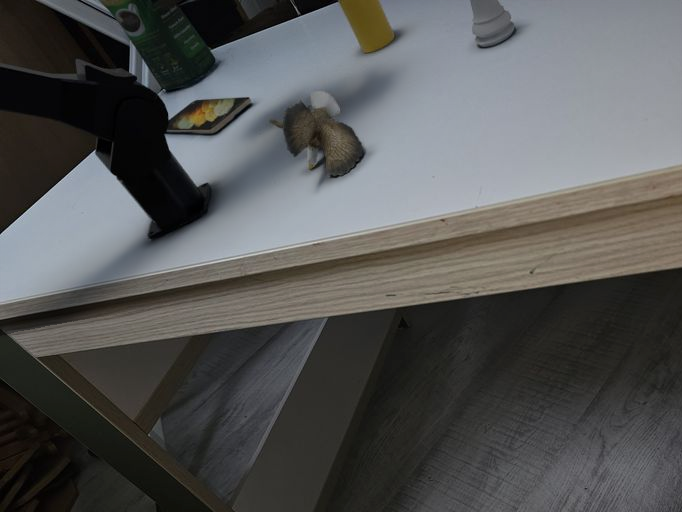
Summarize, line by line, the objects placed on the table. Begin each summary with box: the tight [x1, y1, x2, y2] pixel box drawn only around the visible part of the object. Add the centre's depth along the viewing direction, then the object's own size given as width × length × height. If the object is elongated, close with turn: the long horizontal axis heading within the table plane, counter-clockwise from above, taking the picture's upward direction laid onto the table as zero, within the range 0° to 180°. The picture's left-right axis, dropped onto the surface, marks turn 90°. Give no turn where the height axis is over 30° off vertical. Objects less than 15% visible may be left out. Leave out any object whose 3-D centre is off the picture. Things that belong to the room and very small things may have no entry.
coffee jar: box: [98, 0, 217, 91], centre depth 103 cm, size 10×8×19 cm
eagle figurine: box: [268, 90, 363, 177], centre depth 65 cm, size 8×7×9 cm
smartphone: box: [166, 96, 252, 134], centre depth 91 cm, size 7×1×15 cm
